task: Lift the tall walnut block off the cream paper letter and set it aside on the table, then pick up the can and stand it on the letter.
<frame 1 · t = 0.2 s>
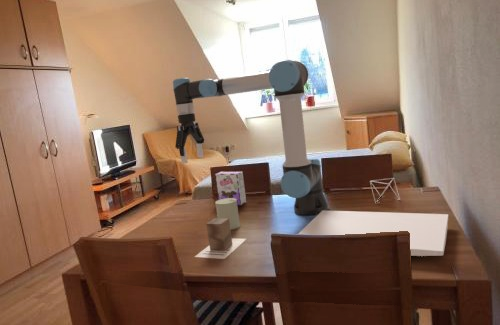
hand: (193, 160, 177), 28 cm above the table, tool pointing down, fingers open, 13 cm apart
candy box: (232, 203, 202), on the table
block: (221, 247, 141), resting on letter
geometric polyhedron: (385, 200, 174), on the table
letter: (221, 248, 141), on the table
can: (229, 227, 164), on the table
board: (372, 240, 132), on the table
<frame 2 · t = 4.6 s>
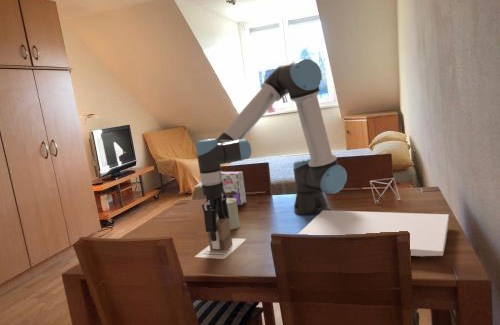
hand: (221, 244, 141), 1 cm above the table, tool pointing down, fingers closed on block, 6 cm apart
block: (221, 247, 141), resting on letter, touching gripper
everything else where it was.
when the fingers open (2 cm above the table, at t = 9.3 s): block drops 1 cm, on the table.
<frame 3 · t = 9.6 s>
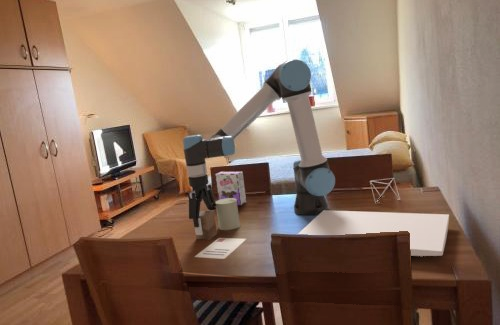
hand: (205, 229, 155), 3 cm above the table, tool pointing down, fingers open, 9 cm apart
block: (207, 237, 155), on the table
everything else where it was.
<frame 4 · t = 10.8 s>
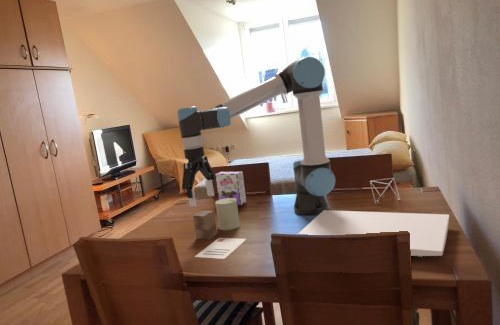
hand: (202, 200, 153), 15 cm above the table, tool pointing down, fingers open, 13 cm apart
nothing on the table moved.
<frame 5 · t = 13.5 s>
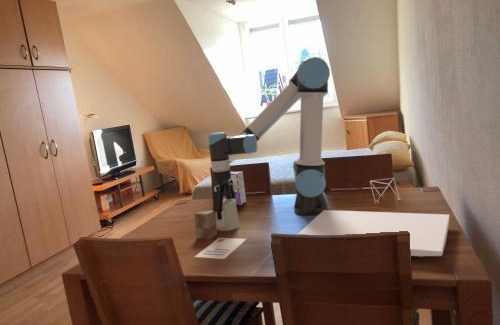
hand: (227, 222, 163), 2 cm above the table, tool pointing down, fingers open, 9 cm apart
block: (207, 237, 155), on the table, tilted 6°, touching hand
can: (228, 228, 164), on the table, touching gripper
everything else where it was.
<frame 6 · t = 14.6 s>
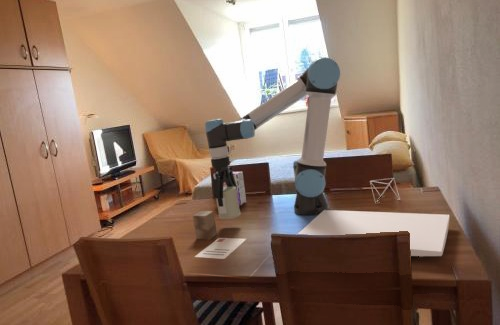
hand: (228, 209, 163), 8 cm above the table, tool pointing down, fingers closed on can, 9 cm apart
block: (207, 237, 155), on the table
can: (230, 216, 163), point 5 cm above the table, touching gripper
everything else where it was.
when the fingers open (3 cm above the table, at t = 19.7 s): can stays where it is, resting on letter.
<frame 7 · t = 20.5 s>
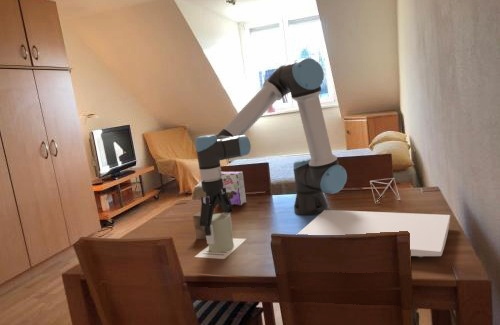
hand: (220, 236, 141), 5 cm above the table, tool pointing down, fingers open, 13 cm apart
can: (221, 247, 141), resting on letter
everything else where it was.
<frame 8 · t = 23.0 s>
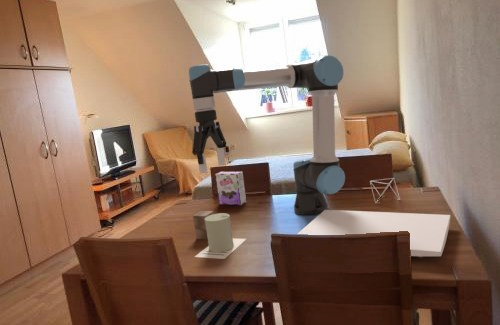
hand: (213, 169, 141), 29 cm above the table, tool pointing down, fingers open, 13 cm apart
nothing on the table moved.
at the end: can inside the target area on the letter (0.0 cm from its centre), point 0.2 cm above the letter's base; can tilted 0°; block touching table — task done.
